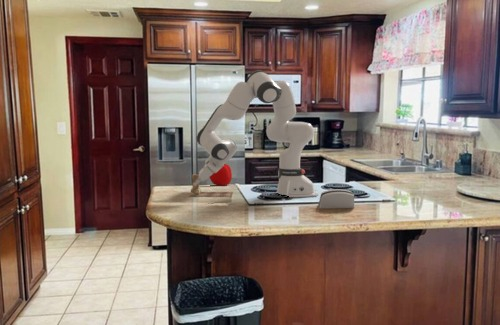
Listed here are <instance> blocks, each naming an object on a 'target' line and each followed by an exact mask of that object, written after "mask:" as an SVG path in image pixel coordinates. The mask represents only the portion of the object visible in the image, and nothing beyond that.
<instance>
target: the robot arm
mask: <svg viewBox="0 0 500 325" xmlns="http://www.w3.org/2000/svg"><path fill="white" fill-rule="evenodd" d="M227 96H228V97H227V98H226V100H225V102H224V103H222V104H220V105H218V106H217V107H216V108H215V110H214V111H213V112H212V114H211V116H210V117H209V118H208V120H207V121H206V123H205V125H204V126H203V127H202V128H201V129H200V130H199V131H198V133H197V135H196V142H197V144H198V145H199V146H200V147H201V148H203V150H205V151H206V152H207V154H208V155H209V156H208V157H207V158H206V159H205V160H204V166H203V167H202V168H201V169H200V170H199V171H198V174H199V176H198V179H197V180H196V181H195V182H194V183H193V184H194V185H195V186H196V185H197V184H198V183H199V184H200V183H204V182H206V180H208V179H210V178H209V177H210V176H211V175H212V174H213V173H217V172H218V171H219V170H220V169H221V168H222V167H223V165H224V164H226V163H228V161H229V160H231V159H232V158H233V156H234V155H236V153H237V151H238V146H237V145H236V143H235V141H233V140H232V139H231V138H227V139H221V138H220V137H219V136H218V134H217V133H216V130H217V128H218V126H219V124H221V122H222V120H224V119H227V120H229V121H238V120H241V119H243V117H244V116H245V114H246V113H247V111H248V108H249V106H250V104H251V103H252V101H254V99H255V98H257V99H258V100H259V101H260V102H262V103H264V104H272V107H273V113H274V117H273V121H272V122H270V123H269V124H268V126H267V127H266V136H267V138H268V140H270V141H271V142H272V141H273V142H277V143H289V147H287V148H285V149H284V150H282V151H281V152H280V153H279V159H278V160H279V165H278V166H279V167H278V172H277V173H278V174H277V176H278V185H277V188H276V192H275V193H279V194H285V195H287V196H289V197H288V198H303V197H305V198H306V197H318V196H319V192H318V190H316V189H315V185H314V183H313V181H311V179H310V178H308V177H307V176H305V175H304V174H306V171H305V169H303V168H301V156H302V151H303V149H304V148H305V146H306V145H307V144H308V143H309V142H311V141H312V140H313V138H314V135H315V130H314V127H313V125H312V124H311V123H309V122H305V121H291V120H292V119H294V118H295V116H296V115H297V107H296V103H295V97H294V93H293V91H292V89H291V86H290V84H289V83H288V82H287V81H285V80H279V81H274V80H273V78H272V77H270V75H268V73H267V72H266V71H264V70H260V69H256V70H254V71H252V72H251V73H250V74H249V75H248V77H246V78H245V80H244V81H239V82H237V83H236V84H235V85H234V86H233V88H232V90H231V91H230V93H229V94H228V95H227ZM193 184H192V185H193ZM287 196H286V197H287Z"/></svg>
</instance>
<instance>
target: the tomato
mask: <svg viewBox="0 0 500 325" xmlns="http://www.w3.org/2000/svg"><path fill="white" fill-rule="evenodd" d="M232 175H233V174H232V168H231V166H230V165H229V164H228V162H226V163H225V164H224V165H223V167H222V168H221V169H220V170H219V171H218V172H217V173H213V174H212V175H211V176H210V177H209V178H208V179H209V180H210V182H211V183H212V184H214V185H216V186H218V187H223V186H228V185H229V184H230V183H231V182H232V177H233V176H232Z"/></svg>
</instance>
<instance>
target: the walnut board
mask: <svg viewBox="0 0 500 325" xmlns="http://www.w3.org/2000/svg"><path fill="white" fill-rule="evenodd" d="M233 193H234V191H201V193H200V194H199V195H191V193H190V194H189V195H188V198H232V196H233Z"/></svg>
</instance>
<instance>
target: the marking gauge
mask: <svg viewBox="0 0 500 325" xmlns="http://www.w3.org/2000/svg"><path fill="white" fill-rule="evenodd" d="M198 176H199V173H198V174H197V173H193V174H192V176H191V178H192V182H191V183H192V188H191V189H190V194H191V195H199V194H200V193H201V192H202V188H201V187H200V183H198V184H197V185H196V186H195V185H194V184H193V183H194V182H195V181H196V180H197V179H198Z"/></svg>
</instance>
